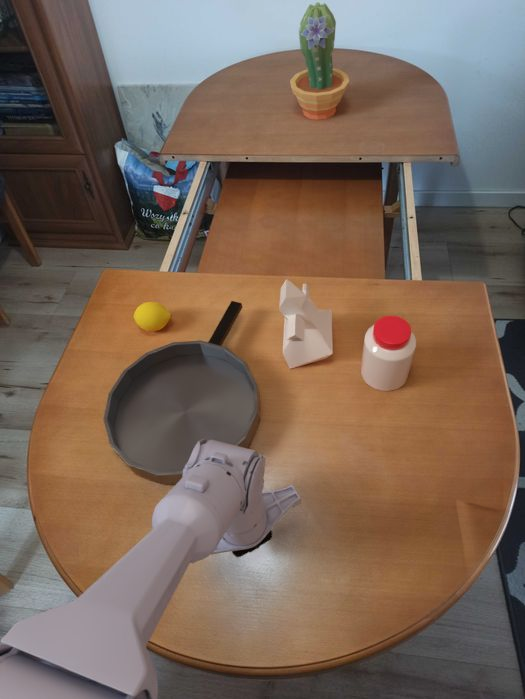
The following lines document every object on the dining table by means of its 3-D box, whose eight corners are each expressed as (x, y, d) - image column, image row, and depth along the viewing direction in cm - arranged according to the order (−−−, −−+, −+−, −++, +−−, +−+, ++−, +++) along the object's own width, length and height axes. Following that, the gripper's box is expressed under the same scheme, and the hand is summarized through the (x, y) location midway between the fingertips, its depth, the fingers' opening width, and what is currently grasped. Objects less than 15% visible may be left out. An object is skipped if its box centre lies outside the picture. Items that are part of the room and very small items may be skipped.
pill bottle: (356, 385, 81) (361, 344, 72) (364, 348, 85) (370, 306, 76) (404, 395, 79) (416, 354, 70) (411, 357, 83) (422, 314, 74)
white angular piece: (331, 311, 91) (333, 255, 80) (332, 375, 82) (334, 322, 71) (285, 311, 92) (281, 256, 81) (281, 374, 83) (276, 322, 72)
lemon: (134, 337, 91) (125, 317, 87) (140, 314, 94) (132, 295, 90) (171, 337, 90) (164, 317, 86) (176, 314, 94) (170, 295, 89)
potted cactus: (279, 116, 134) (272, 10, 114) (313, 91, 141) (312, -13, 121) (325, 132, 127) (327, 23, 107) (359, 105, 134) (367, -2, 114)
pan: (222, 507, 70) (218, 498, 67) (83, 455, 77) (74, 444, 74) (300, 330, 89) (299, 317, 86) (182, 301, 95) (178, 287, 92)
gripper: (278, 448, 58) (284, 491, 69) (164, 507, 55) (189, 542, 66) (309, 500, 54) (310, 536, 65) (187, 566, 51) (210, 594, 62)
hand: (250, 543), depth 65 cm, fingers closed, pressing on beverage can
